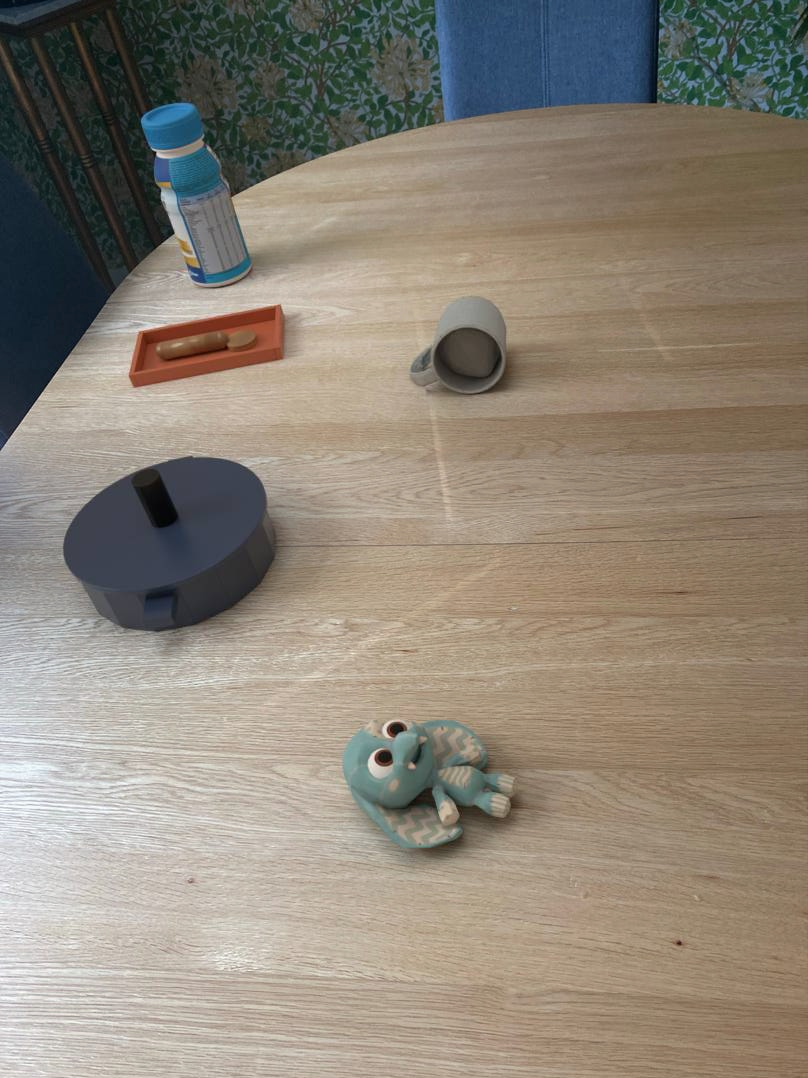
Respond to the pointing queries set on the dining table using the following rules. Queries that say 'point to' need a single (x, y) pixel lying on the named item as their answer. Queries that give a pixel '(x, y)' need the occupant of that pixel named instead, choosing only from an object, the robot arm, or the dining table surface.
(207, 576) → the pot
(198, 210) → the beverage bottle
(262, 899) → the dining table surface
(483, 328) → the ceramic mug
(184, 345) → the spoon
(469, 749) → the stuffed animal
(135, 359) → the tray
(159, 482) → the lid
